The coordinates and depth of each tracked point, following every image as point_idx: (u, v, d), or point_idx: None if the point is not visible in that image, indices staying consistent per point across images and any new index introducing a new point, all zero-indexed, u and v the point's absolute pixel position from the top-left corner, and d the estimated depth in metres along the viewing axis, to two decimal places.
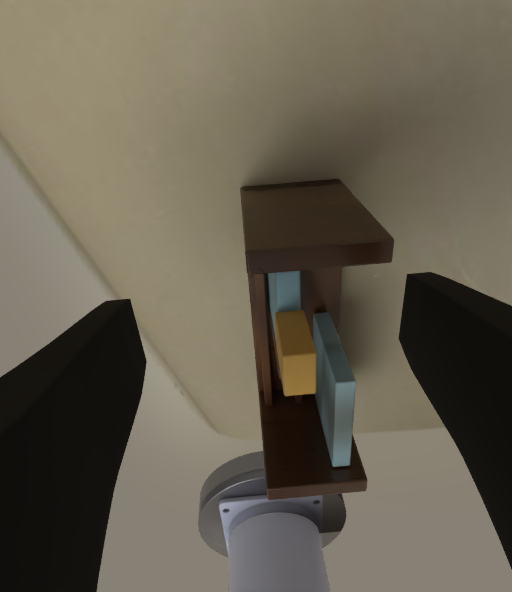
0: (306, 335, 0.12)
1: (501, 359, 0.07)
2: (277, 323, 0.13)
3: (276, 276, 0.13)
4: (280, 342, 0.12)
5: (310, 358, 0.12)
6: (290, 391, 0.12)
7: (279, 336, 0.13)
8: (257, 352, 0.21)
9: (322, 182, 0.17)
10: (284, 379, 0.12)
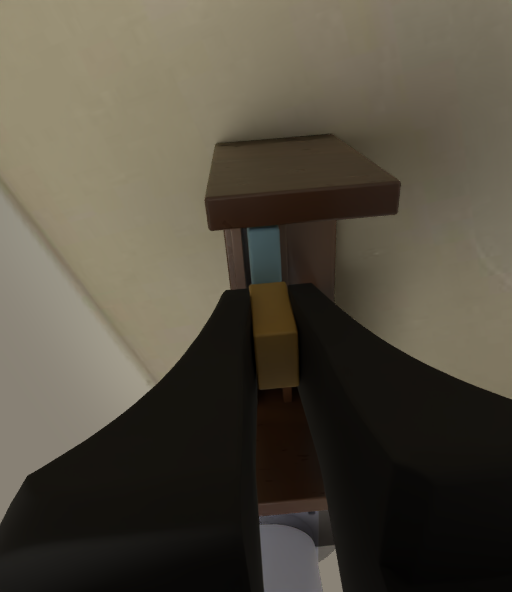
0: (287, 311, 0.09)
1: (325, 375, 0.07)
2: (250, 297, 0.10)
3: (249, 236, 0.10)
4: (252, 319, 0.09)
5: (290, 339, 0.09)
6: (265, 383, 0.09)
7: (251, 312, 0.10)
8: None
9: (312, 137, 0.15)
10: (257, 367, 0.09)
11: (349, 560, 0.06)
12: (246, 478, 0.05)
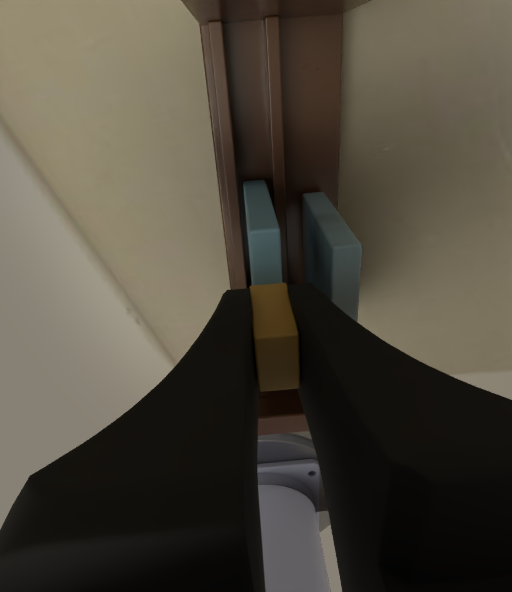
0: (288, 312, 0.09)
1: (325, 375, 0.07)
2: (251, 298, 0.10)
3: (249, 237, 0.10)
4: None
5: (291, 340, 0.09)
6: (265, 385, 0.09)
7: (252, 313, 0.10)
8: (229, 255, 0.16)
9: None
10: (257, 369, 0.09)
11: (348, 560, 0.06)
12: (248, 478, 0.05)
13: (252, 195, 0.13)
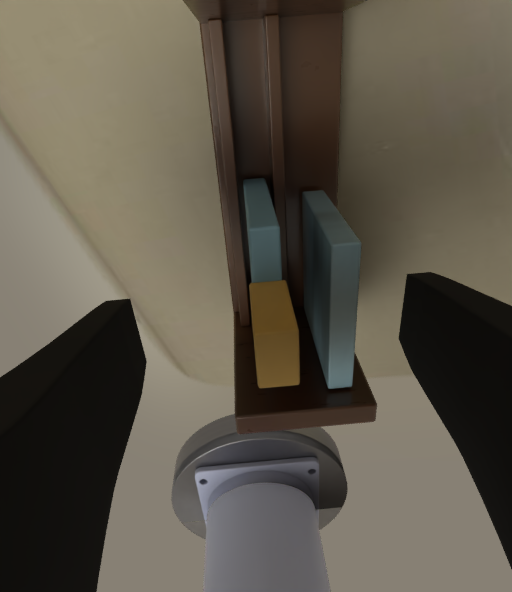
0: (288, 309, 0.09)
1: (501, 359, 0.07)
2: (251, 295, 0.10)
3: (249, 235, 0.10)
4: (252, 318, 0.09)
5: (290, 337, 0.09)
6: (265, 381, 0.09)
7: (252, 310, 0.10)
8: (230, 253, 0.16)
9: None
10: (257, 366, 0.09)
11: None
12: None
13: (252, 193, 0.13)
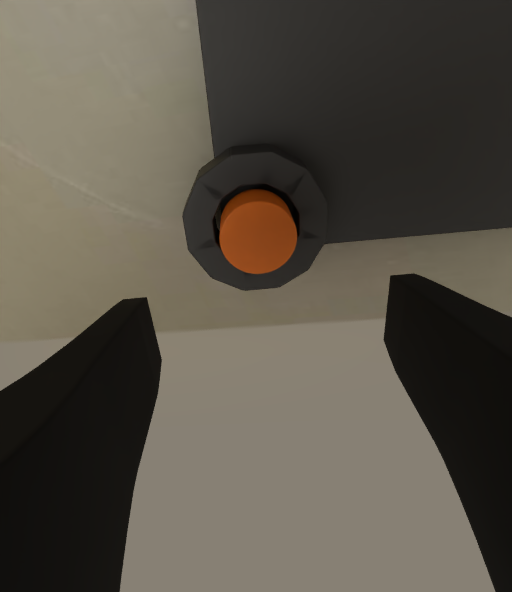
0: None
1: (477, 361, 0.07)
2: None
3: None
4: None
5: None
6: None
7: None
8: None
9: None
10: None
11: None
12: (18, 499, 0.05)
13: None
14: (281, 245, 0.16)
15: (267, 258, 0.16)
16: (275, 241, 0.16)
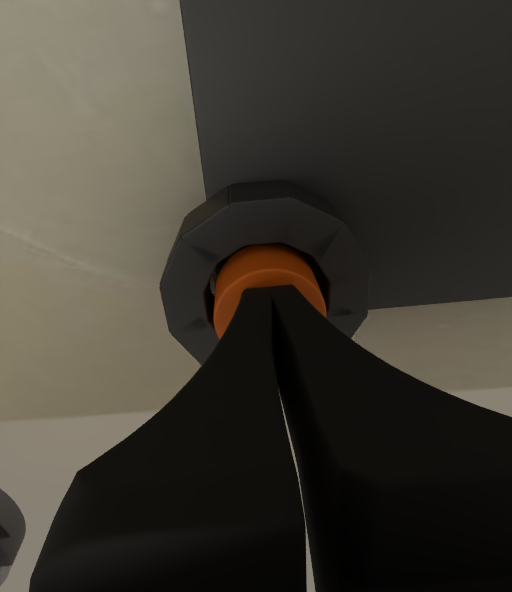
0: None
1: (297, 378, 0.07)
2: None
3: None
4: None
5: None
6: None
7: None
8: None
9: None
10: None
11: (318, 563, 0.06)
12: None
13: None
14: None
15: None
16: None
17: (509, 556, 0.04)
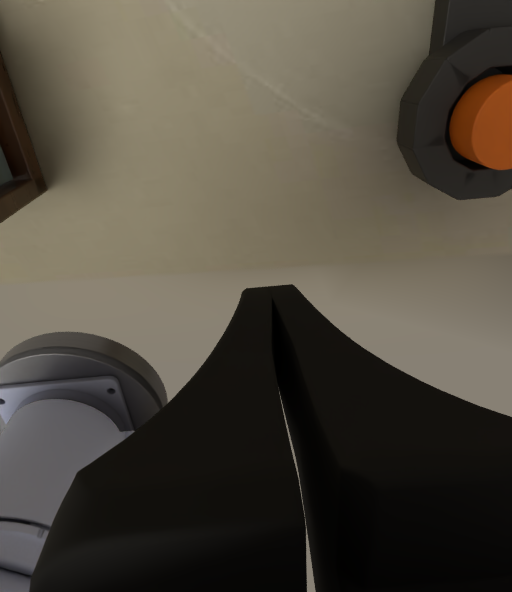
0: None
1: (297, 378, 0.07)
2: None
3: None
4: None
5: None
6: None
7: None
8: None
9: None
10: None
11: (318, 563, 0.06)
12: None
13: None
14: None
15: None
16: None
17: (510, 555, 0.04)
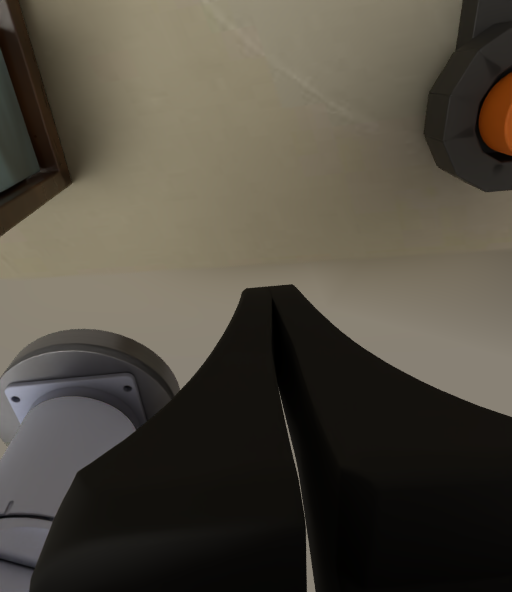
0: None
1: (297, 377, 0.07)
2: None
3: None
4: None
5: None
6: None
7: None
8: None
9: None
10: None
11: (318, 563, 0.06)
12: None
13: None
14: None
15: None
16: None
17: (509, 554, 0.04)
